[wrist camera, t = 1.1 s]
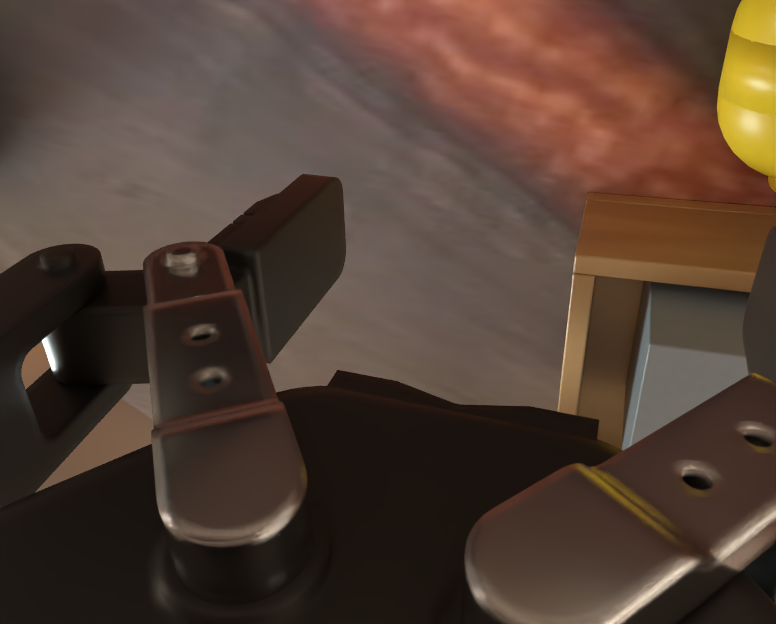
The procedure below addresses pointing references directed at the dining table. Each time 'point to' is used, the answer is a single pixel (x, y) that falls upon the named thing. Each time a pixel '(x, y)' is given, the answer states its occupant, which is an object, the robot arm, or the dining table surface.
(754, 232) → the crate
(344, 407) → the robot arm
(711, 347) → the block grey
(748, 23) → the lemon
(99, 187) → the dining table surface
